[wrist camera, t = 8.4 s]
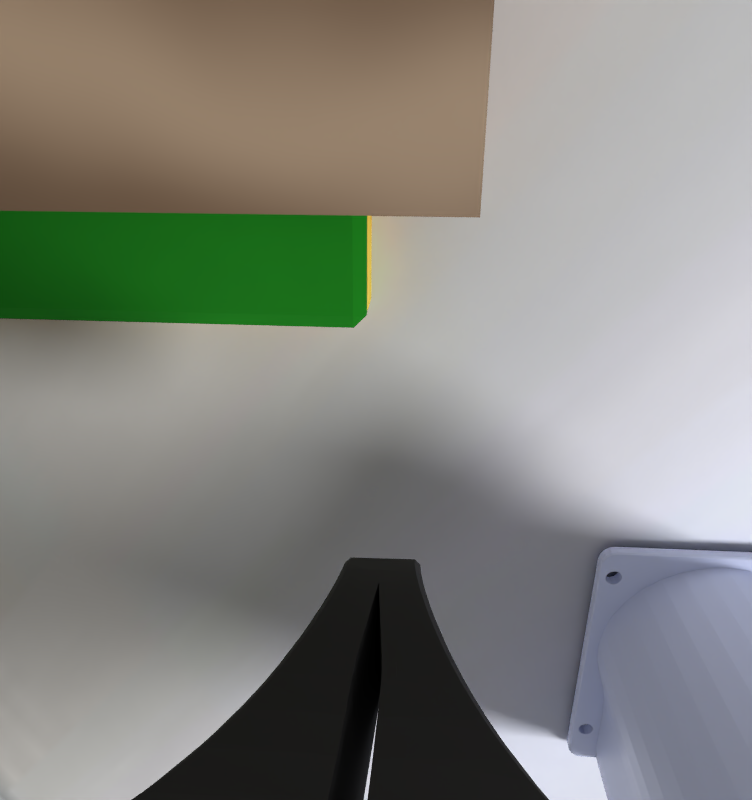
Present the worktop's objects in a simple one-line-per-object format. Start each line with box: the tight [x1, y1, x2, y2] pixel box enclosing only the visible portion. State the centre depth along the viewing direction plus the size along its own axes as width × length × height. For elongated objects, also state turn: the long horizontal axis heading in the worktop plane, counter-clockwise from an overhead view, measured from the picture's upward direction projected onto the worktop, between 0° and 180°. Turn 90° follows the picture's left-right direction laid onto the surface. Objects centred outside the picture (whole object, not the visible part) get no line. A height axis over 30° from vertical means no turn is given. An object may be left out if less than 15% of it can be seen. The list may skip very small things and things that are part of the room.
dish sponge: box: [0, 211, 372, 328], centre depth 17 cm, size 7×14×2 cm, turn 90°
